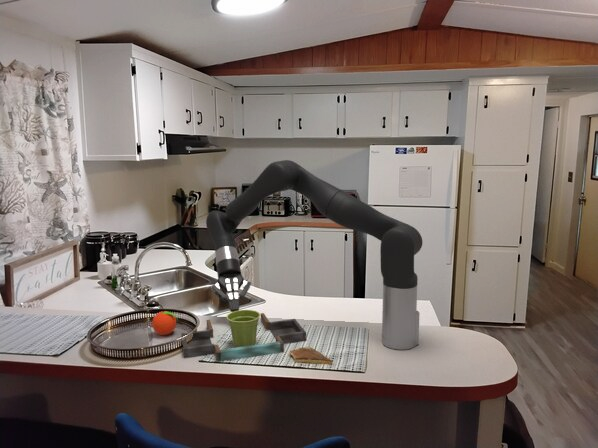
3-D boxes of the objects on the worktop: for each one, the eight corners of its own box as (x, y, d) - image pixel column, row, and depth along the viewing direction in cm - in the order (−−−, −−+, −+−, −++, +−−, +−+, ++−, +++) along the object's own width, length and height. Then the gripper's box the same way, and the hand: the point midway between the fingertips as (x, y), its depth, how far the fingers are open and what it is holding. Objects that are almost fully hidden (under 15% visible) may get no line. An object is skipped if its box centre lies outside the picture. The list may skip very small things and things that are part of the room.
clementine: (184, 330, 140) (182, 308, 139) (173, 339, 133) (172, 316, 132) (159, 328, 141) (158, 306, 140) (148, 338, 135) (146, 314, 133)
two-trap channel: (287, 317, 149) (287, 310, 149) (311, 347, 127) (311, 339, 126) (180, 331, 139) (179, 323, 139) (185, 366, 117) (184, 357, 116)
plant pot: (220, 348, 127) (219, 318, 125) (239, 335, 135) (238, 307, 134) (250, 354, 123) (249, 323, 122) (267, 341, 132) (266, 312, 130)
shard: (333, 366, 117) (333, 359, 117) (308, 375, 113) (308, 368, 113) (309, 350, 126) (309, 344, 126) (285, 358, 122) (285, 352, 122)
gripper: (208, 259, 145) (214, 309, 136) (249, 255, 149) (258, 304, 140) (206, 270, 151) (212, 319, 142) (246, 267, 155) (254, 314, 146)
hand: (235, 311), depth 141 cm, fingers closed
